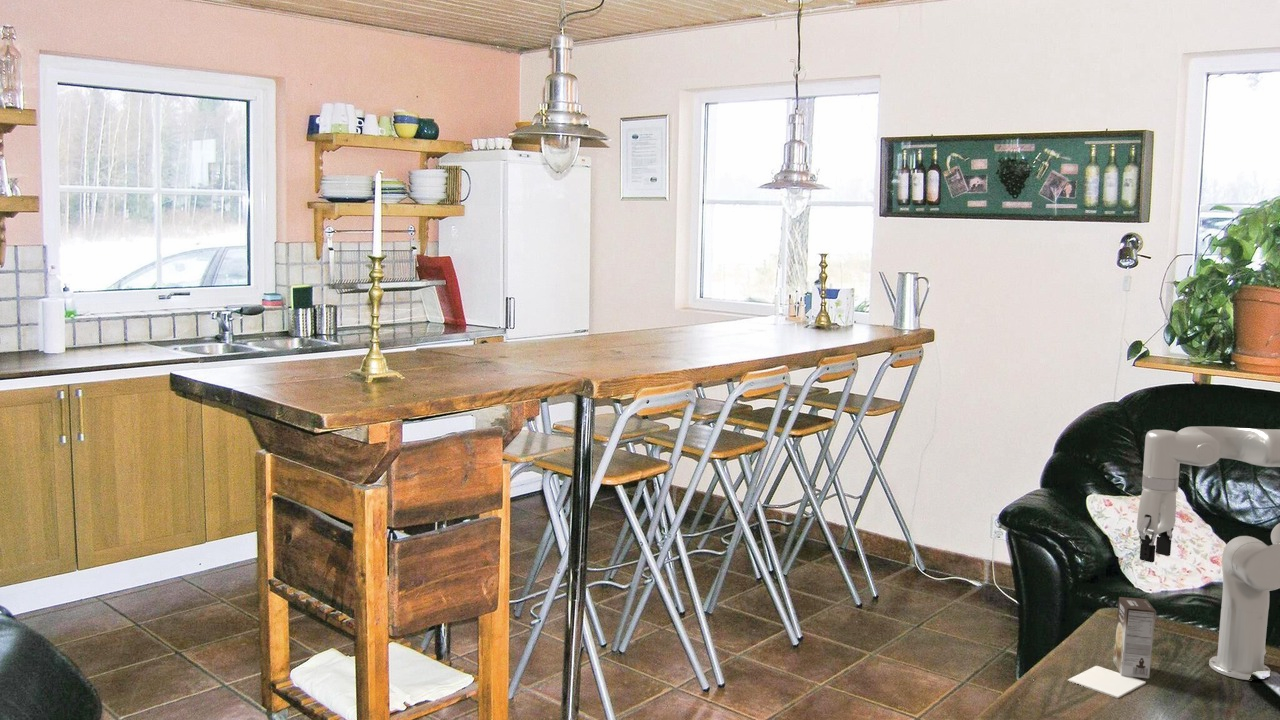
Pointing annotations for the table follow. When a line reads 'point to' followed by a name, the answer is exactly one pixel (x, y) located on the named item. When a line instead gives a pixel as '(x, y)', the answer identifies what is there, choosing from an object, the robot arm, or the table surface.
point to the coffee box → (1134, 637)
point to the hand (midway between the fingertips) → (1155, 557)
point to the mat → (1106, 681)
